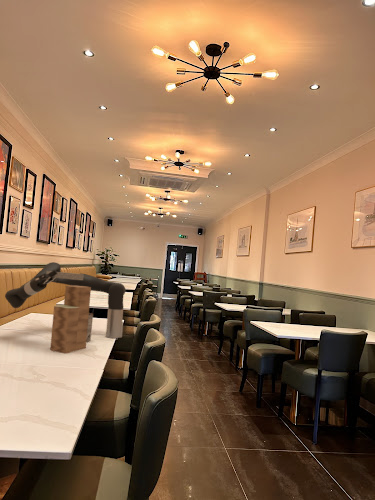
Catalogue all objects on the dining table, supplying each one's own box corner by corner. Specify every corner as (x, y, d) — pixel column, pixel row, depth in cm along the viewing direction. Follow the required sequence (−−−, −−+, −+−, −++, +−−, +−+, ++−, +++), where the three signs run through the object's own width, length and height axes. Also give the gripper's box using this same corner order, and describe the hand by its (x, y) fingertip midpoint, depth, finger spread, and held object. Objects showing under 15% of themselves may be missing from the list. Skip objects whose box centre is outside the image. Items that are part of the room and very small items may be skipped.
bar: (45, 276, 188) (46, 271, 188) (50, 276, 191) (50, 271, 191) (79, 280, 179) (79, 274, 179) (83, 280, 182) (83, 274, 182)
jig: (50, 350, 179) (55, 286, 180) (70, 345, 193) (75, 285, 194) (65, 353, 175) (71, 287, 176) (85, 347, 189) (90, 287, 190)
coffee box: (71, 340, 203) (73, 312, 204) (79, 338, 209) (81, 311, 210) (83, 343, 199) (85, 314, 200) (91, 341, 205) (93, 313, 206)
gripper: (22, 279, 187) (45, 264, 181) (43, 279, 200) (65, 265, 194) (26, 292, 185) (50, 278, 180) (47, 291, 198) (69, 278, 192)
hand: (58, 271), depth 187 cm, fingers closed on bar, 3 cm apart
